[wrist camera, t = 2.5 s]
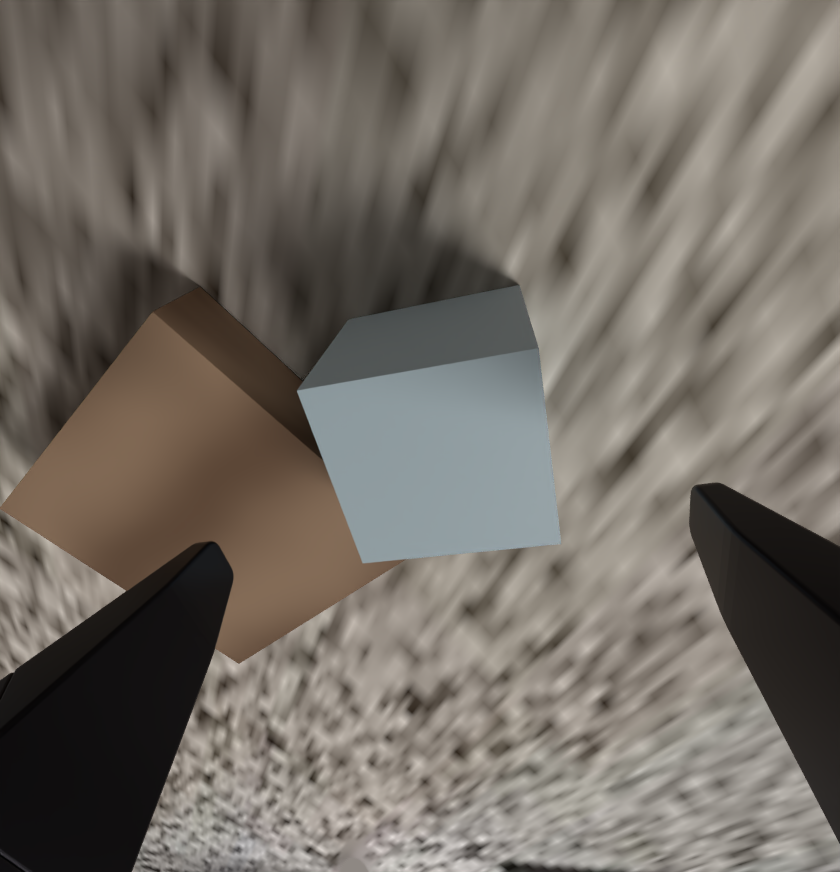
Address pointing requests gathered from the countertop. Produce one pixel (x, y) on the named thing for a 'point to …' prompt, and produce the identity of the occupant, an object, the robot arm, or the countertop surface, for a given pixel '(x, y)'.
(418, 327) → the block
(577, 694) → the countertop surface
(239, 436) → the board
